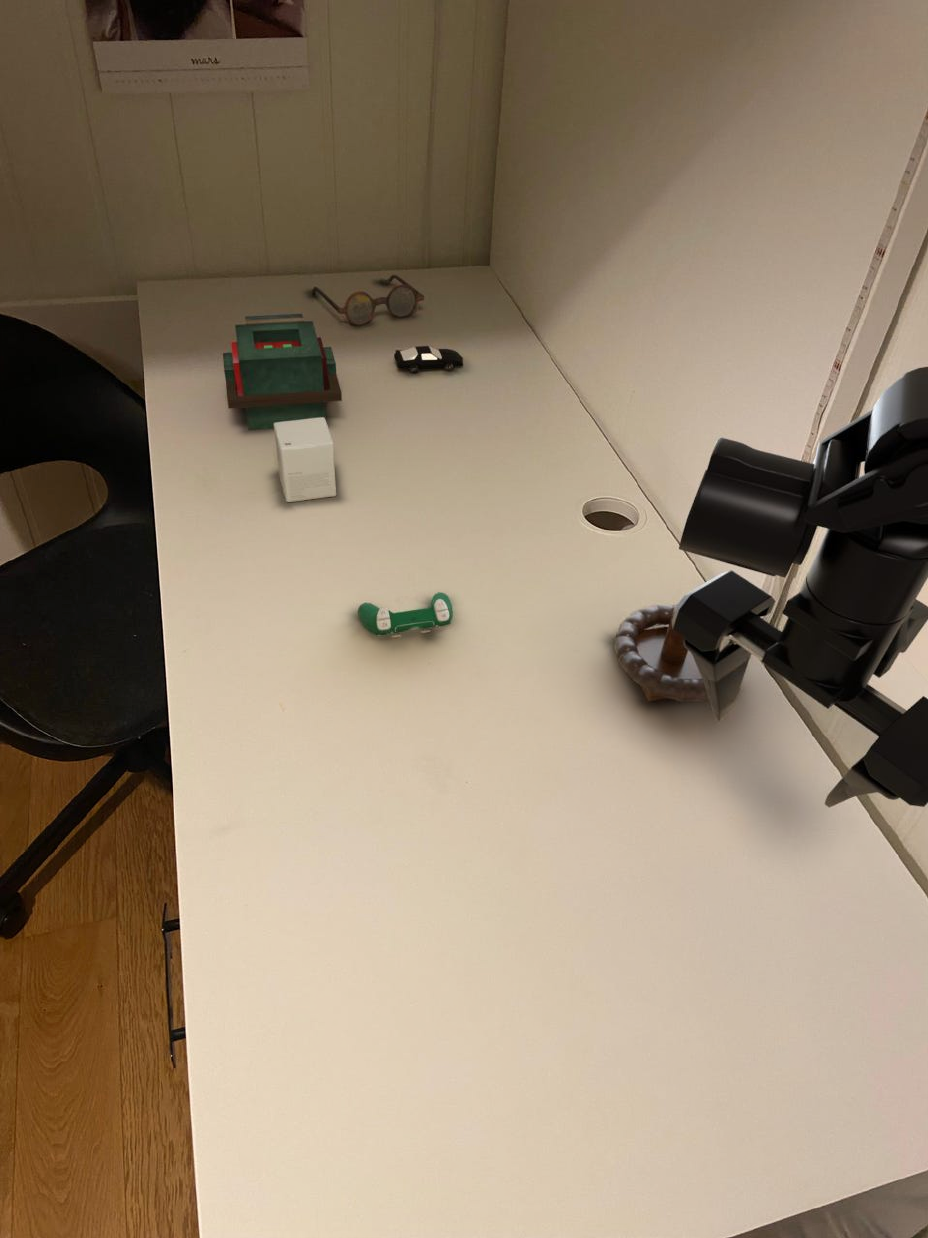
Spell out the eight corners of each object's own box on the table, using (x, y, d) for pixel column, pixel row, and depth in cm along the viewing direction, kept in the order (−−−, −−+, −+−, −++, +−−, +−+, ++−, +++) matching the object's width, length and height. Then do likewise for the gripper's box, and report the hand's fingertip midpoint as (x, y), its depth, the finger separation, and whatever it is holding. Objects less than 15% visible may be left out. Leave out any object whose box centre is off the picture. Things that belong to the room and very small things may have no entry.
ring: (760, 656, 81) (767, 642, 80) (700, 726, 75) (705, 712, 73) (655, 598, 87) (659, 584, 85) (589, 659, 80) (592, 644, 79)
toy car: (459, 357, 127) (460, 340, 125) (465, 370, 124) (466, 353, 122) (393, 361, 124) (393, 344, 123) (398, 374, 122) (398, 357, 120)
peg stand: (689, 631, 85) (707, 577, 80) (726, 688, 80) (747, 634, 75) (616, 641, 84) (630, 587, 79) (648, 701, 78) (665, 647, 73)
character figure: (339, 313, 120) (360, 380, 106) (295, 390, 126) (309, 463, 112) (247, 263, 112) (257, 328, 98) (205, 347, 118) (208, 420, 104)
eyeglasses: (340, 329, 132) (339, 297, 128) (306, 293, 141) (303, 262, 137) (424, 314, 137) (424, 283, 134) (385, 280, 146) (385, 251, 143)
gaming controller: (361, 641, 84) (368, 641, 78) (355, 604, 84) (362, 601, 78) (450, 628, 86) (463, 627, 80) (444, 591, 86) (457, 588, 80)
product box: (337, 497, 99) (334, 443, 94) (285, 504, 97) (279, 449, 92) (328, 469, 103) (325, 416, 98) (278, 475, 102) (272, 421, 97)
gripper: (1083, 625, 47) (956, 789, 58) (800, 470, 57) (737, 635, 68) (990, 717, 41) (868, 879, 52) (695, 528, 52) (644, 696, 62)
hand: (773, 758), depth 59 cm, fingers open, 9 cm apart
